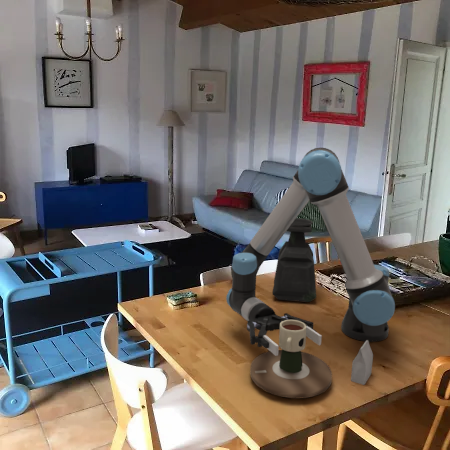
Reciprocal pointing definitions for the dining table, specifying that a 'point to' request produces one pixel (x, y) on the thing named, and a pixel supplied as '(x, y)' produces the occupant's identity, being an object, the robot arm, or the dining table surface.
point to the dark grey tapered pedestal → (296, 266)
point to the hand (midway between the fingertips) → (299, 345)
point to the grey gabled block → (362, 364)
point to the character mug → (292, 345)
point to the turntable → (291, 376)
